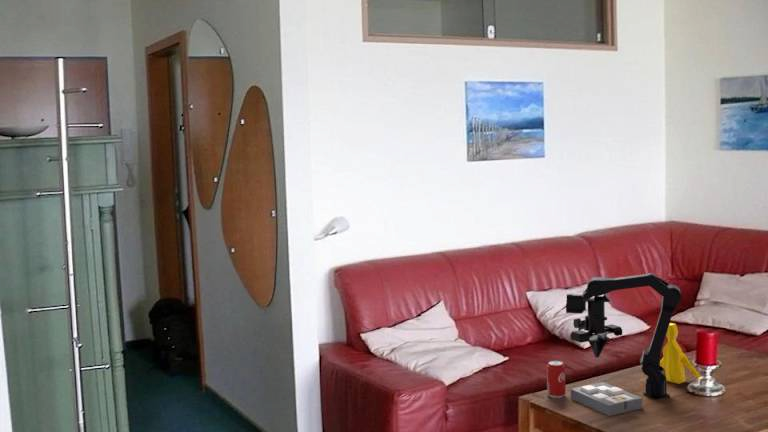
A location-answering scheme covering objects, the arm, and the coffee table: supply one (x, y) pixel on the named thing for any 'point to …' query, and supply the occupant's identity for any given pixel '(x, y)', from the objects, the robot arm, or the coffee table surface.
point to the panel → (607, 400)
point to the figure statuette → (675, 358)
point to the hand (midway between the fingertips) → (596, 357)
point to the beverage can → (556, 379)
